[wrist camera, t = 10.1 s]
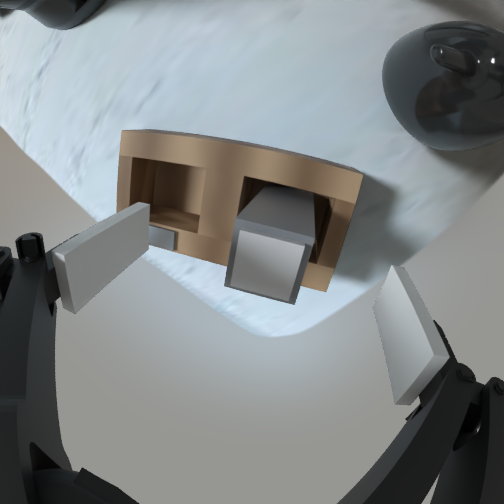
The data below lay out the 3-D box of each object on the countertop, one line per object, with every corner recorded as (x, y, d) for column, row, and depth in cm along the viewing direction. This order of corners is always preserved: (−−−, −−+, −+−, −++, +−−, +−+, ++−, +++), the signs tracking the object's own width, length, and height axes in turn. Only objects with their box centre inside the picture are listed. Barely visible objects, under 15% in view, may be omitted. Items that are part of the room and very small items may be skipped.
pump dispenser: (359, 44, 18) (405, -45, 4) (454, 52, 16) (547, 11, 2) (379, 149, 22) (464, 168, 8) (471, 149, 19) (582, 178, 6)
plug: (261, 222, 26) (222, 289, 15) (269, 181, 25) (233, 220, 13) (302, 233, 26) (293, 308, 15) (313, 192, 24) (315, 240, 13)
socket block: (142, 222, 29) (114, 239, 25) (150, 129, 25) (119, 130, 20) (323, 268, 27) (325, 297, 23) (353, 168, 23) (364, 175, 18)
